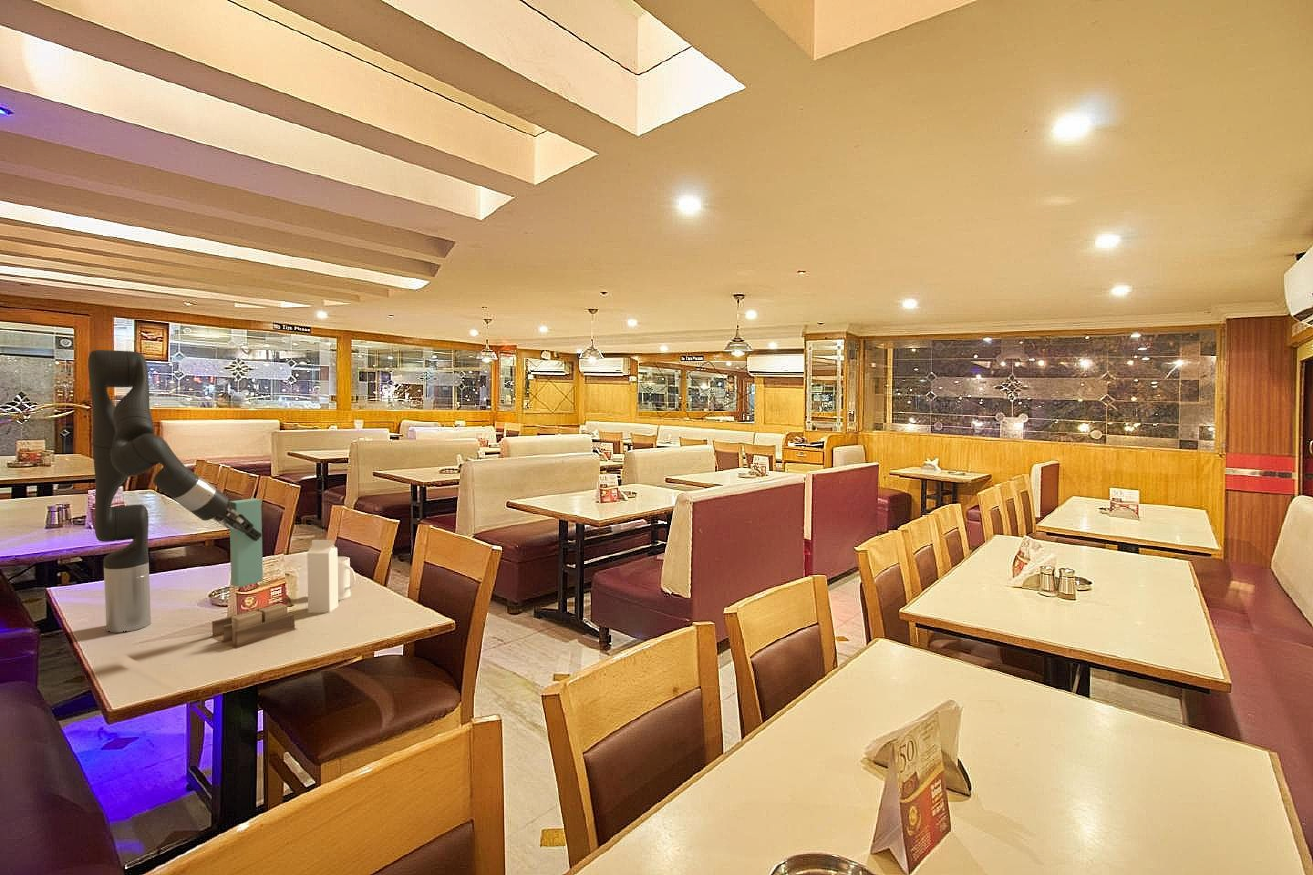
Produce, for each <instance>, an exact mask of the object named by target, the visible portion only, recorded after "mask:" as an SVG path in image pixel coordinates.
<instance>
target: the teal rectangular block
mask: <svg viewBox="0 0 1313 875" xmlns="http://www.w3.org/2000/svg"><path fill="white" fill-rule="evenodd" d="M228 505H229V506H228V508H229V509H230V508H232V509H234V510H235V511H236V512H237V513H238V514H242V515H243V516H244V517H245V518H246V519H247V520H248V521H249V522H251V523H252V524H253V525H254V526H253V528H254V529H255V530H257V531H258V532H259V533H261V534H262V536H261V537H260V538H259V539H258V540H257V541H254V540H252V539H251V538H250V537H248V536H247V535H245V534H243V533H242V532H241V531H239V530H238V529H237V530H234V529H232V528H231V527H230V529H229V540H230V542H229V543H230V546H229V549H230V551H229V552H230V584H231V586H234V587H237V588H241V587H245V586H250V585H253V584H257V583H262V582H263V581H264V577H263V576H264V571H263V570H264V569H263V568H264V567H263V532H262V531H263V529H262V528H263V524H262V521H263V520H262V499H259V498H255V497H253V498H248V499H247V498H246V499H245V498H244V499H239V500H230V501H229V502H228ZM233 526H235V524H234V525H233Z"/></svg>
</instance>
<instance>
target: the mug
mask: <svg viewBox="0 0 1313 875" xmlns="http://www.w3.org/2000/svg"><path fill="white" fill-rule="evenodd" d="M350 559H351V558H350V557H347V556H338V602H339V601H343V600H346V599H349V598H350V597H351V596H352V593H351V589H352V588H353V587H354V586H355V583H356V581H357V580H356V573H355V571H354V569H353V568H352V567H351V561H350ZM351 574H352V580H353V581H352V583H351Z"/></svg>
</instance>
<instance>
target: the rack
mask: <svg viewBox="0 0 1313 875" xmlns="http://www.w3.org/2000/svg"><path fill="white" fill-rule="evenodd" d="M270 606H271V605H267V606H264V607H263V606H262V607H258V608H256V609H253V610H252V609H251V610H250V611H245V612H241V613H238V614H234V615H231V616H227V617H224V618H219V619H216V620H212V621H211V624H212V625H211V626H212V627H211V628H212V636H210V639H213V640H215V641H218V642H220V643H223V644H224V645H227V646H229V647H232V648H234V649H235V650H236V649H240V648H243V647H246V646H250V645H253V644H255V643H259V642H262V641H264V640H269V639H271V638H274V637H278V636H281V635H283V634H287V633H291V632H294V631H297V630H298V628H296V627H295V614H294V613H291V614H287V616H284V617H280V618H277V619H273V620H270V621H267V622H263V623H260V624H257V625H253V626H250V627H246V628H243V629H240V630H236V631H235V643H234V642H233V640H232V617H234V616H237V615H241V614H244V613H248V612H252V611H255V610H256V611H259V609H262V608H266V607H270Z"/></svg>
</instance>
